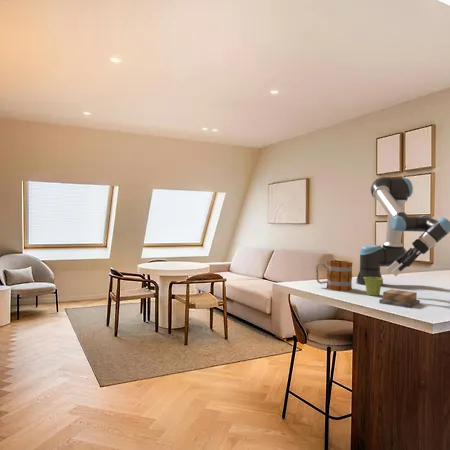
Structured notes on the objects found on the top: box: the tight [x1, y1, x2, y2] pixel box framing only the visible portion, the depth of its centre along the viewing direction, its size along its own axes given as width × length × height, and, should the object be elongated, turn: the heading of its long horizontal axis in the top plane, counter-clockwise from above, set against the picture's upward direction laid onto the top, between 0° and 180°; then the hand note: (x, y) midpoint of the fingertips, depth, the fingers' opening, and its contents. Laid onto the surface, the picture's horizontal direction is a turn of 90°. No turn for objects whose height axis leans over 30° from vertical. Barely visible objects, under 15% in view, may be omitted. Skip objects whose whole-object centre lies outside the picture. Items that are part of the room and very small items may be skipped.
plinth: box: [378, 288, 421, 308], centre depth 177 cm, size 13×14×5 cm
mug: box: [315, 260, 353, 292], centre depth 214 cm, size 20×14×15 cm
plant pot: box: [364, 277, 384, 297], centre depth 197 cm, size 9×9×9 cm
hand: (390, 272), depth 194 cm, fingers open, 13 cm apart
